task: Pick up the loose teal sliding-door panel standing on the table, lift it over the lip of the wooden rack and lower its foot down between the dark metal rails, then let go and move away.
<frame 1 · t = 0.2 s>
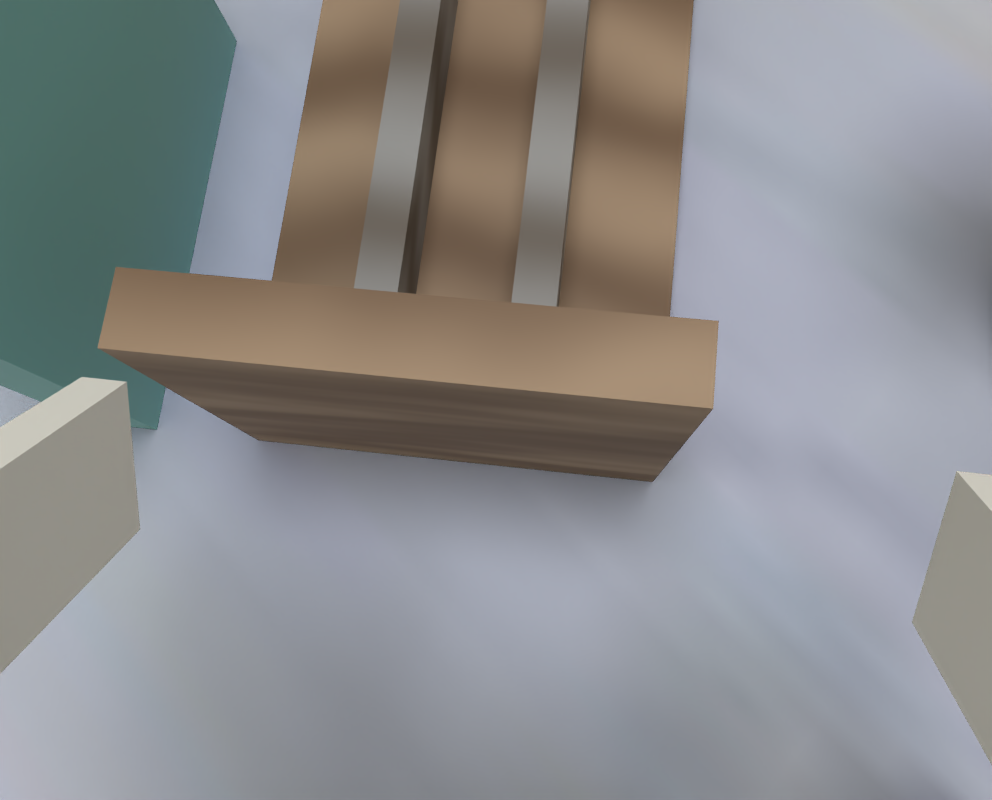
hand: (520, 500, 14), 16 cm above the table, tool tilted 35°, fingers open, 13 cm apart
wooden rack: (494, 127, 34), on the table
door panel: (168, 222, 34), on the table
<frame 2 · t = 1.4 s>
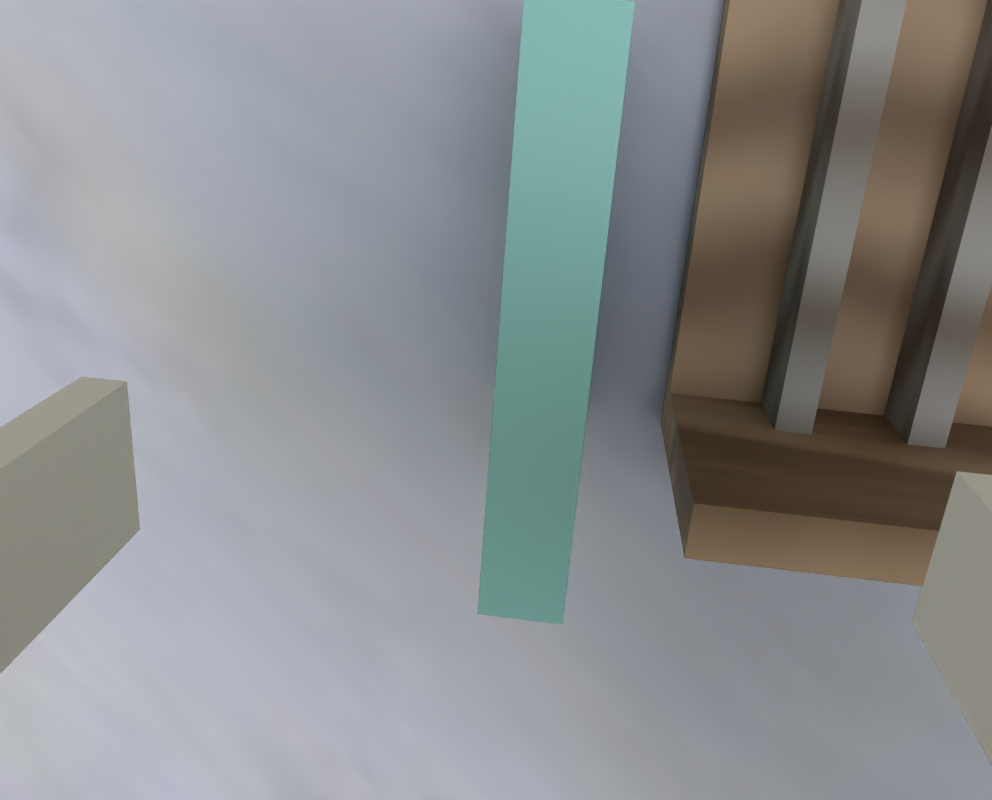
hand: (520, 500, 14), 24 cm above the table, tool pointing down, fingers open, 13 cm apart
wooden rack: (889, 133, 34), on the table
door panel: (567, 234, 37), on the table
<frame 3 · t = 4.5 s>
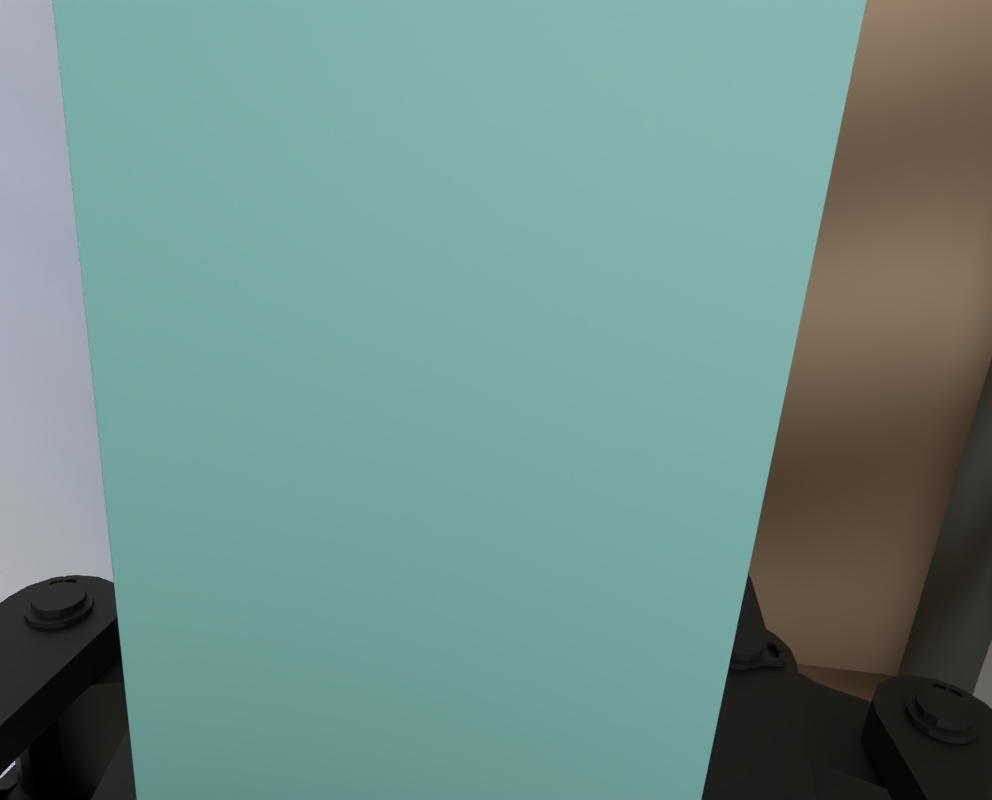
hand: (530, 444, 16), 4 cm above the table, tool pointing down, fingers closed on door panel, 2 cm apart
door panel: (542, 371, 20), on the table, touching gripper
when the fingers open (6 cm above the table, at t = 10.0 s): door panel stays where it is, resting on wooden rack.
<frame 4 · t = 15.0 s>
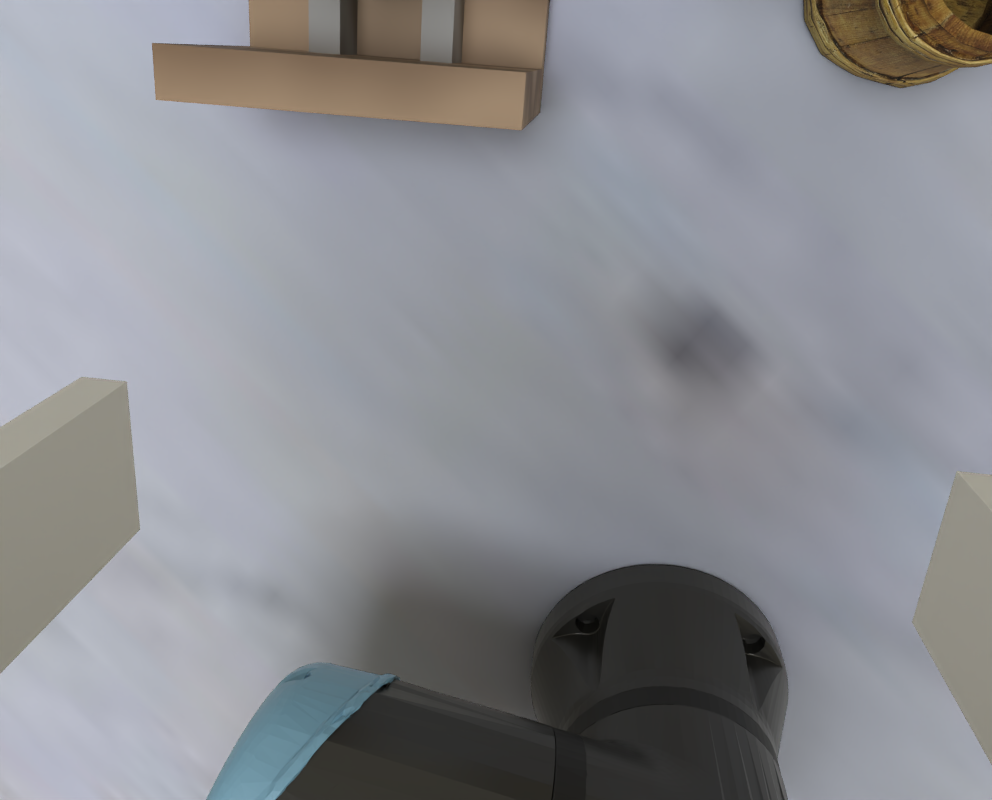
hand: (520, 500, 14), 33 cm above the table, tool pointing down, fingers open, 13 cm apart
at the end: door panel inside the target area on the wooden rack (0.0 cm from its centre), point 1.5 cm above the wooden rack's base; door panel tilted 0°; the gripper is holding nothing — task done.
